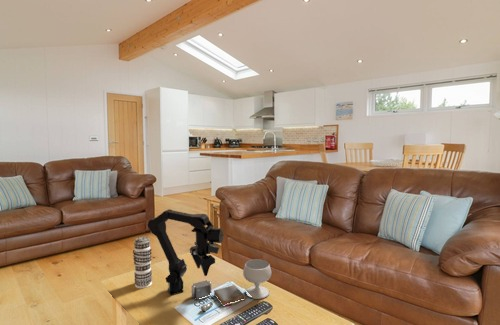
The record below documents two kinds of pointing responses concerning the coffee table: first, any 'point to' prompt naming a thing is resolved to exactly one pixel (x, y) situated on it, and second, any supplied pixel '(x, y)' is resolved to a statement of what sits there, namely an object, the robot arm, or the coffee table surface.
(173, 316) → the coffee table surface
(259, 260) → the chalice
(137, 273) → the grey striped cylinder
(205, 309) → the loose bolt
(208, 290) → the block
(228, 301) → the plinth
